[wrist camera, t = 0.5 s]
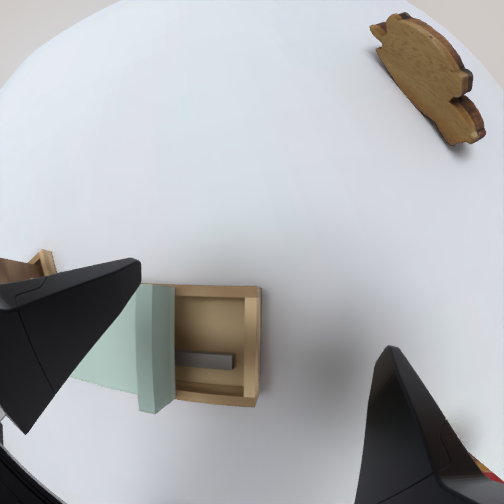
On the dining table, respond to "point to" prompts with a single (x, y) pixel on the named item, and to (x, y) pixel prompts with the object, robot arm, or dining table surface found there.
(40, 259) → the frame
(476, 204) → the dining table surface
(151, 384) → the lid
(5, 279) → the brown block
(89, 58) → the dining table surface
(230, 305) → the wooden tray
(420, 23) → the wooden carving
